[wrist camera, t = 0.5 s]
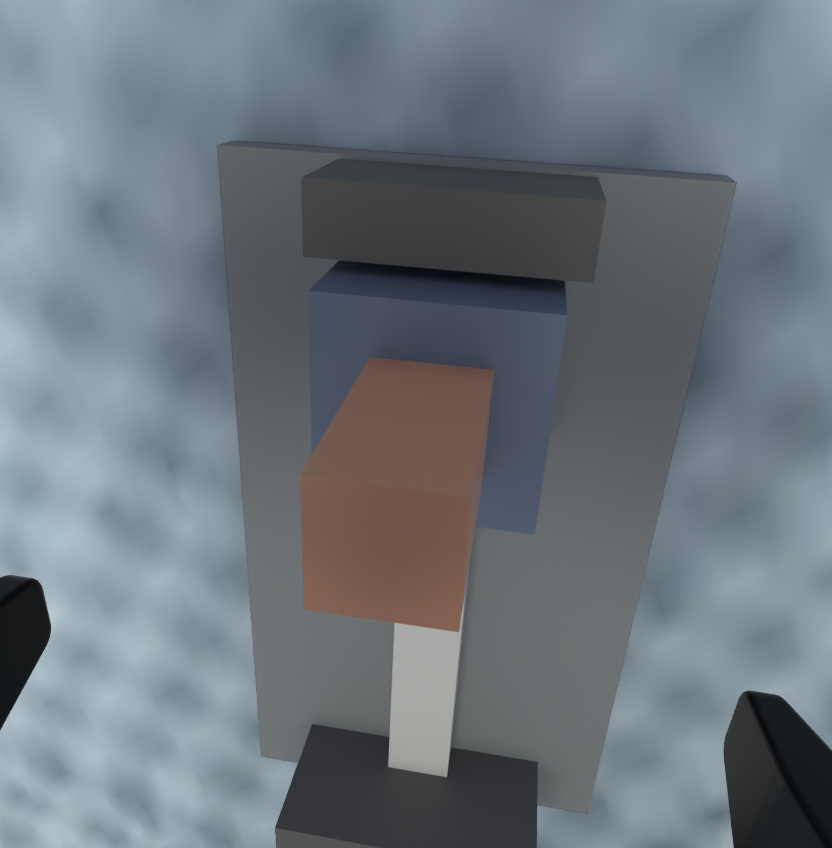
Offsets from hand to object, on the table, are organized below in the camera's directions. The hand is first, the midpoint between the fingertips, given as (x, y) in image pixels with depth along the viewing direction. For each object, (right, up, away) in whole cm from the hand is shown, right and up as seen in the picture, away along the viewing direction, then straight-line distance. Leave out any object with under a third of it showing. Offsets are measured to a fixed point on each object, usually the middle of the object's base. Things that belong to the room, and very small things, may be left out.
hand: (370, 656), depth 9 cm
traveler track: (+1, -1, +14) cm, 14 cm away
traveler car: (+1, +4, +9) cm, 10 cm away
